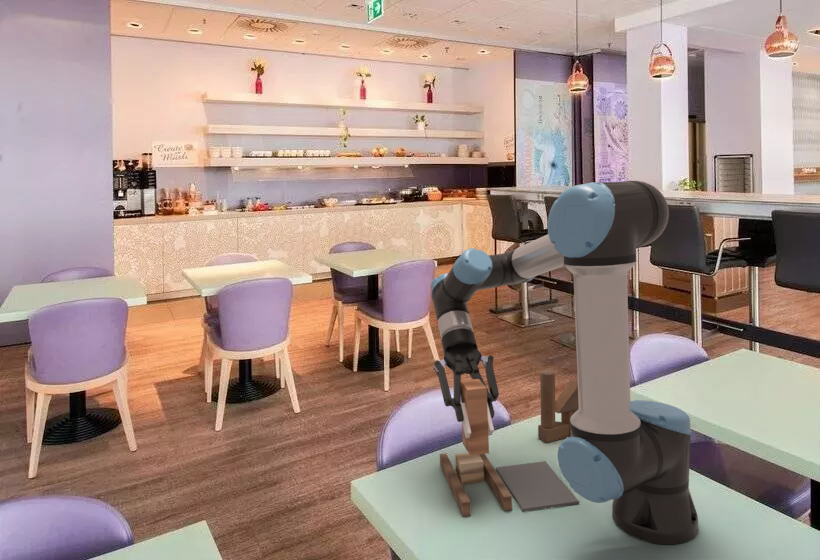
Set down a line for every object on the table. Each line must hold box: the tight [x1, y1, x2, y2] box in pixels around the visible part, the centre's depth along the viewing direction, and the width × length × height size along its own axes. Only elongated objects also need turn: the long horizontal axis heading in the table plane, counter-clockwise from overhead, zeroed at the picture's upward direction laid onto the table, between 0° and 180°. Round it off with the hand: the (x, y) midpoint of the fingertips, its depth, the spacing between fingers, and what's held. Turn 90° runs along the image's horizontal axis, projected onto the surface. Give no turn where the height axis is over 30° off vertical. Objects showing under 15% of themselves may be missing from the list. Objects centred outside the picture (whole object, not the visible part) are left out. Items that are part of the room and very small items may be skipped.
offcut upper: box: [454, 452, 484, 475], centre depth 132 cm, size 5×5×2 cm
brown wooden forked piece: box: [537, 369, 579, 444], centre depth 150 cm, size 4×11×18 cm, turn 113°
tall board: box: [460, 379, 490, 456], centre depth 122 cm, size 6×4×14 cm, turn 9°
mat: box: [495, 460, 580, 512], centre depth 128 cm, size 18×12×1 cm, turn 9°
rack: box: [439, 452, 513, 517], centre depth 128 cm, size 22×10×3 cm, turn 9°
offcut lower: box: [455, 465, 485, 486], centre depth 132 cm, size 5×5×2 cm
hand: (479, 434), depth 119 cm, fingers closed on tall board, 4 cm apart
